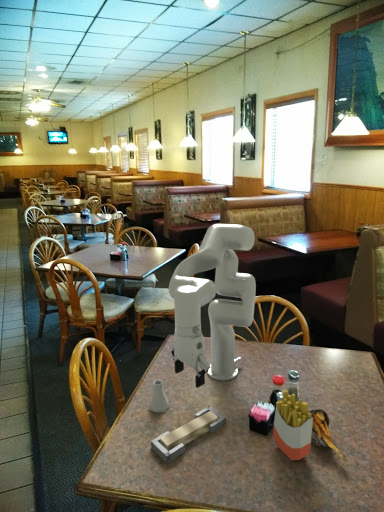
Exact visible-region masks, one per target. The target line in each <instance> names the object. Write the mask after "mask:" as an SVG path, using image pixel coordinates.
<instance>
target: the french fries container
mask: <svg viewBox="0 0 384 512" xmlns="http://www.w3.org/2000/svg"><path fill="white" fill-rule="evenodd" d="M275 405H276V406H275V411H274V418H273V419H274V421H273V431H272V432H273V433H272V434H273V439H274V440H275V443H276V444H277V447H278V449H279V450H281V451H282V452H283V453H284V454H285V455H286V456H287V457H288V458H289V460H290V459H291V461H300V460H302V459H303V458H305V457H307V456H308V455H310V454H311V446H312V436H311V435H312V423H313V417H312V416H311V413H310V412H309V405H310V404H309V403H308V402H306V401H303V400H302V399H300V398H299V399H298V400H297V401H296V393H295V394H294V393H292V394H289V390H288V389H284V390H283V391H282V397H280V398H279V400H278V401H276V402H275Z"/></svg>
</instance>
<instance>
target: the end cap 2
mask: <svg viewBox="0 0 384 512" xmlns="http://www.w3.org/2000/svg"><path fill="white" fill-rule="evenodd" d="M209 411H211V412H213V413H214V414H215V415H216V416H218V420H216V421H215V422H213V423H211V424H210V425H209V431H208V432H209V433H210V434H214V432H216V431H218V430H219V429H221V428H222V427H224V426H225V425H226V424H227V417H226V416H224V415H223V414H222V413H220V412H219V411H217V410H216V409H215V408H213V407H212V406H210V405H208V406H206V407H205V408H203V409H202V410H201V409H200V411H198V412H197V413H195V414H194V419H196V418H198V417H200V416H202V415H203V414H205V413H207V412H209Z"/></svg>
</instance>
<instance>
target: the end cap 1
mask: <svg viewBox="0 0 384 512" xmlns="http://www.w3.org/2000/svg"><path fill="white" fill-rule="evenodd" d="M170 432H171V431H169V430H167V431H165V432H163V433H162V434H160V435H159V436H157V437H155V438H154V439H152V440H151V441H150V447H151V449H152V450H153V451H154V452H155V453H156V454H157V455H158V456H159V457H160V458H161V459H162V460H163V461H164V463H166V464H170V462H172V461H173V460H175V459H176V458H178V457H179V456H181V455H182V454H184V453H185V445H184V444H182V443H181V444H179V445H178V446H176V447H175V448H173V449H171V450H170V451H168V450H167V449H165V448H164V447H163V446H162V445H161V444H160V438H161V437H163V436H164V435H166V434H168V433H170Z"/></svg>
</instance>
